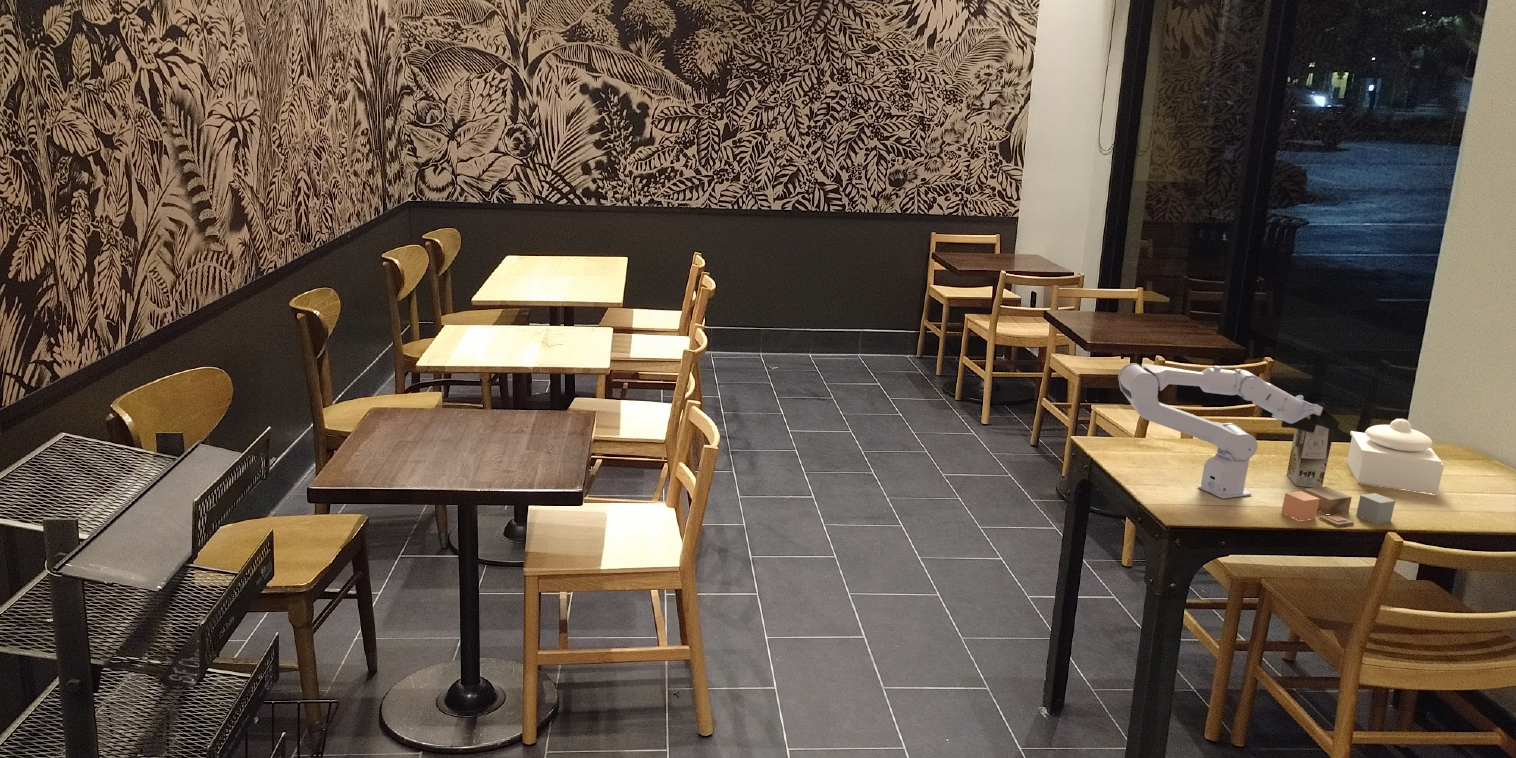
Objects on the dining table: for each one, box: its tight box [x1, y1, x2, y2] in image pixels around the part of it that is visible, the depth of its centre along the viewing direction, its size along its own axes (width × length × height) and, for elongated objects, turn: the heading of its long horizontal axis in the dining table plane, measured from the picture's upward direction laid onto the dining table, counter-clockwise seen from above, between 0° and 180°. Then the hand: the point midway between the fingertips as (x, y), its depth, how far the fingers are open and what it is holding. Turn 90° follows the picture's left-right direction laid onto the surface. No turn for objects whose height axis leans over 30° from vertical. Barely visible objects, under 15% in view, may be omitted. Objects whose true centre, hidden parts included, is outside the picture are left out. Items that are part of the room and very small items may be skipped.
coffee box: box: [1286, 416, 1335, 488], centre depth 274 cm, size 9×6×16 cm
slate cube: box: [1355, 492, 1396, 524], centre depth 253 cm, size 5×5×5 cm
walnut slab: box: [1303, 486, 1353, 515], centre depth 258 cm, size 7×7×4 cm
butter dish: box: [1346, 418, 1445, 495], centre depth 280 cm, size 18×18×16 cm
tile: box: [1318, 514, 1355, 528], centre depth 250 cm, size 5×5×1 cm
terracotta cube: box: [1281, 490, 1320, 522], centre depth 251 cm, size 5×5×5 cm
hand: (1325, 427), depth 261 cm, fingers open, 7 cm apart
